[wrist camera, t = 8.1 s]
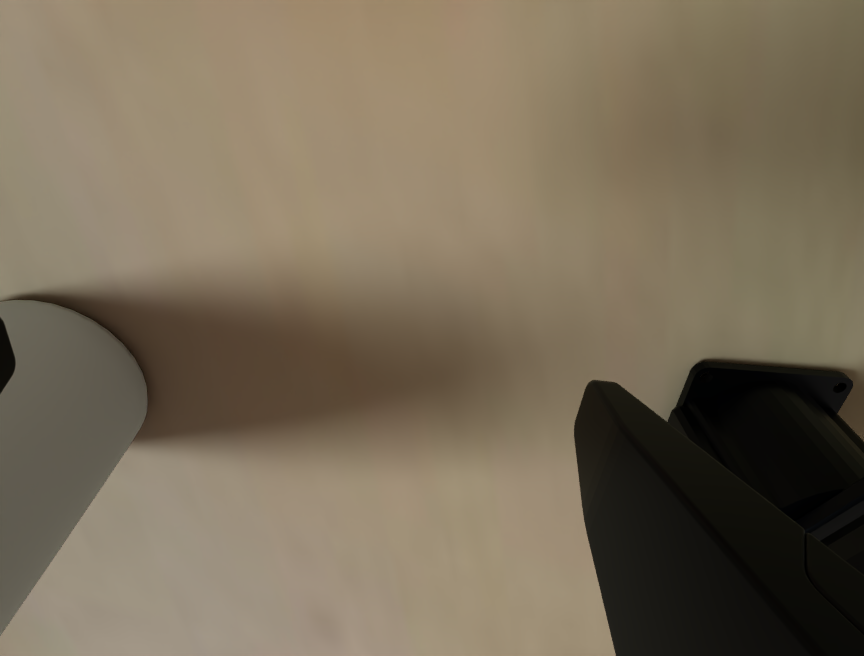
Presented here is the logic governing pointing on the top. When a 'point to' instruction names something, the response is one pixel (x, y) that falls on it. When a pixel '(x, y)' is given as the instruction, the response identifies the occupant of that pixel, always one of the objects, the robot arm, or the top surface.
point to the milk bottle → (57, 434)
